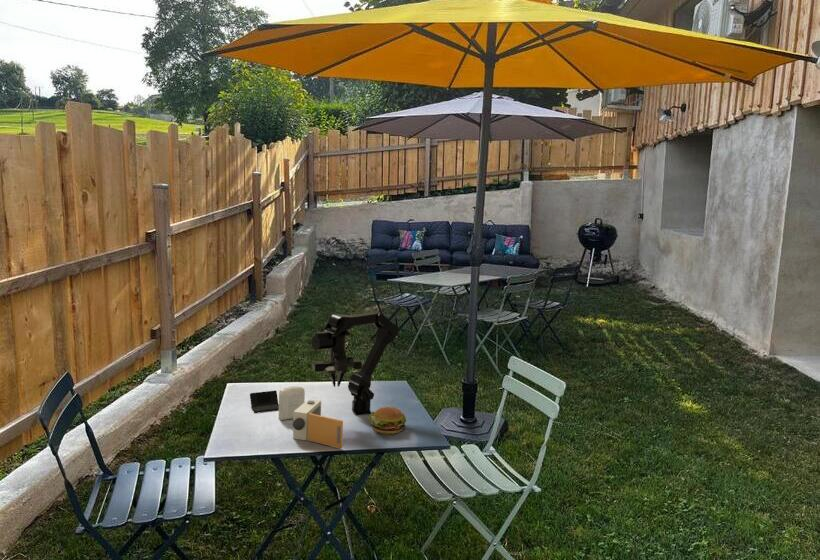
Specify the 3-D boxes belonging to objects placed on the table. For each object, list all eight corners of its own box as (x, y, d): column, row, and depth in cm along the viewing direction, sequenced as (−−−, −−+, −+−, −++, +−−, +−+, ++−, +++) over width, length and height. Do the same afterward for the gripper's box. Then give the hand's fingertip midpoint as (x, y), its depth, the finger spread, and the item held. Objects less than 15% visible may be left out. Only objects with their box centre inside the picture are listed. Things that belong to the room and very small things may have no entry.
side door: (342, 447, 215) (342, 420, 213) (340, 449, 213) (341, 421, 212) (307, 438, 221) (308, 412, 219) (305, 440, 220) (306, 413, 218)
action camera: (308, 424, 235) (308, 397, 233) (320, 425, 234) (321, 398, 232) (291, 439, 220) (291, 411, 218) (304, 441, 219) (305, 413, 217)
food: (364, 423, 239) (365, 403, 237) (400, 421, 242) (401, 401, 241) (372, 437, 226) (372, 416, 224) (409, 434, 229) (410, 414, 228)
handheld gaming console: (256, 411, 242) (254, 386, 246) (250, 417, 247) (247, 393, 251) (284, 410, 249) (280, 386, 253) (276, 416, 254) (274, 393, 258)
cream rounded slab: (301, 413, 246) (301, 383, 244) (305, 416, 242) (306, 386, 241) (276, 417, 240) (277, 387, 238) (281, 421, 237) (281, 390, 235)
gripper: (319, 353, 227) (317, 394, 229) (367, 351, 234) (365, 391, 236) (312, 346, 237) (310, 385, 239) (358, 344, 244) (357, 382, 246)
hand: (336, 386), depth 240 cm, fingers closed
